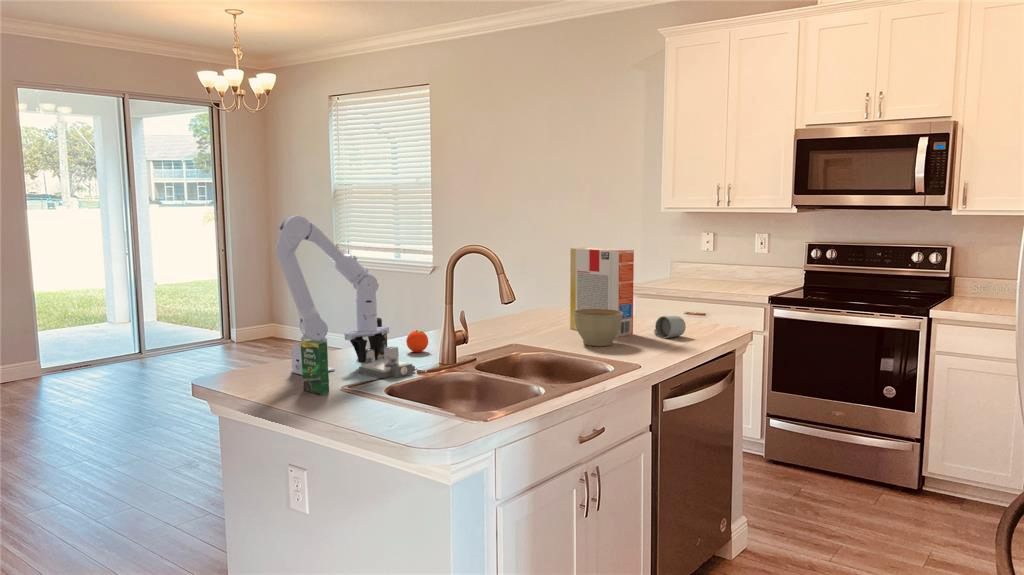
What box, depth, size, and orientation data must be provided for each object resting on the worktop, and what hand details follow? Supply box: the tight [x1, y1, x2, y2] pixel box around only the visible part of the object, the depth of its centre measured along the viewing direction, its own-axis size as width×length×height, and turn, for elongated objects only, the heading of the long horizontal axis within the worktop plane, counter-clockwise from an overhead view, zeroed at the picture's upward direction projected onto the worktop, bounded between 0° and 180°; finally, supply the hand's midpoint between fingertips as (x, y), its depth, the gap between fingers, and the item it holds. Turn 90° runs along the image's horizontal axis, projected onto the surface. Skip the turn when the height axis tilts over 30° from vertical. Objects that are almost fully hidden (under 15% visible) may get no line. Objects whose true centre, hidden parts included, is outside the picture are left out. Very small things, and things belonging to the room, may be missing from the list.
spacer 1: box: [360, 348, 376, 366], centre depth 217 cm, size 4×4×5 cm
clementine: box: [406, 329, 429, 353], centre depth 236 cm, size 8×7×7 cm
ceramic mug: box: [653, 315, 686, 339], centre depth 260 cm, size 11×8×8 cm
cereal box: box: [569, 247, 635, 338], centre depth 269 cm, size 23×8×30 cm, turn 42°
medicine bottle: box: [363, 316, 388, 359], centre depth 231 cm, size 7×7×12 cm
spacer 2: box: [383, 346, 400, 367], centre depth 207 cm, size 4×4×5 cm
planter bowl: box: [574, 309, 623, 347], centre depth 247 cm, size 16×16×11 cm
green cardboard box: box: [299, 339, 330, 396], centre depth 187 cm, size 8×3×13 cm, turn 49°
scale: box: [358, 359, 416, 379], centre depth 208 cm, size 11×13×3 cm
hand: (368, 361), depth 217 cm, fingers closed on spacer 1, 4 cm apart
